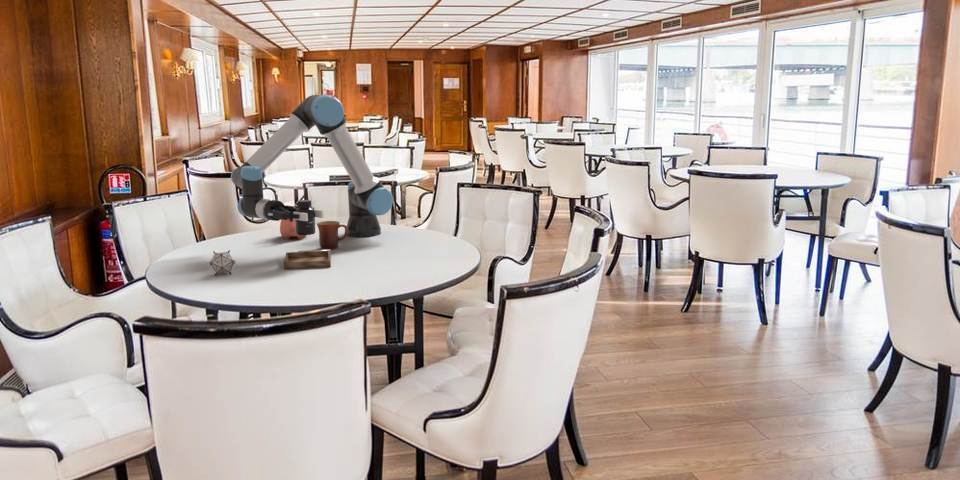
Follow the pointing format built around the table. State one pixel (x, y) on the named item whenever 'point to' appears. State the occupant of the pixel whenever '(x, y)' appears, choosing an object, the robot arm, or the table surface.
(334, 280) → the table surface
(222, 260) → the game die
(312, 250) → the pin
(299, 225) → the supplement bottle
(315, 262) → the tray
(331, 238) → the mug
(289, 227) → the teapot
